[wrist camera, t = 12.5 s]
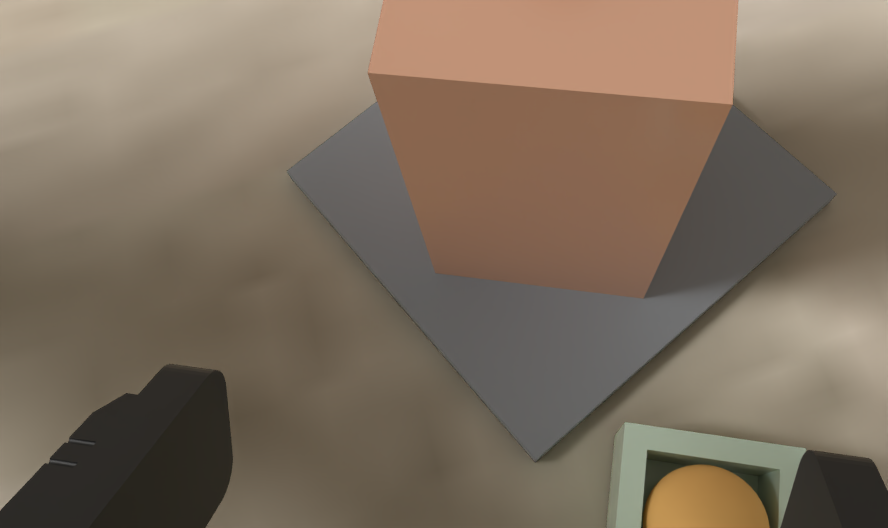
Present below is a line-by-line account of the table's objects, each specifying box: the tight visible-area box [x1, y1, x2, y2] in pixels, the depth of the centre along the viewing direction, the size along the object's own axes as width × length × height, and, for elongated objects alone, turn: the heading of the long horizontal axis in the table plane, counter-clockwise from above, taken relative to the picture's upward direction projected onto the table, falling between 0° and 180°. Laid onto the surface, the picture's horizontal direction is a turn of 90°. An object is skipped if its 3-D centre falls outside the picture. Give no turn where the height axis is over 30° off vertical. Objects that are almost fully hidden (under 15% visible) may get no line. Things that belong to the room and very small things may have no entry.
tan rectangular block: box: [368, 0, 738, 299], centre depth 19 cm, size 6×6×12 cm
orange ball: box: [643, 464, 770, 528], centre depth 20 cm, size 3×3×3 cm
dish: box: [606, 422, 806, 528], centre depth 21 cm, size 4×4×3 cm
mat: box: [287, 102, 837, 462], centre depth 25 cm, size 12×12×1 cm
